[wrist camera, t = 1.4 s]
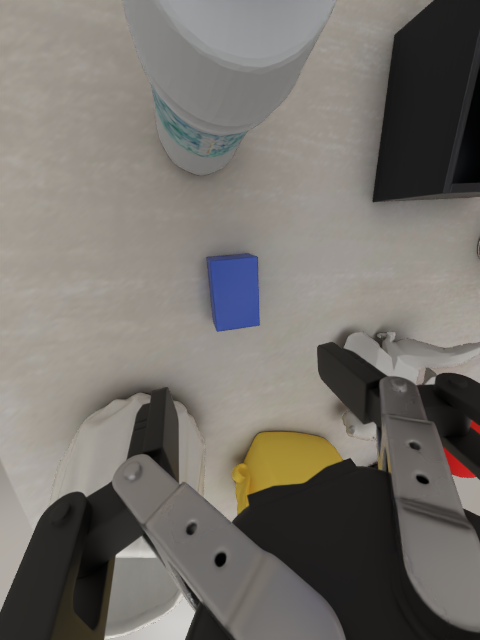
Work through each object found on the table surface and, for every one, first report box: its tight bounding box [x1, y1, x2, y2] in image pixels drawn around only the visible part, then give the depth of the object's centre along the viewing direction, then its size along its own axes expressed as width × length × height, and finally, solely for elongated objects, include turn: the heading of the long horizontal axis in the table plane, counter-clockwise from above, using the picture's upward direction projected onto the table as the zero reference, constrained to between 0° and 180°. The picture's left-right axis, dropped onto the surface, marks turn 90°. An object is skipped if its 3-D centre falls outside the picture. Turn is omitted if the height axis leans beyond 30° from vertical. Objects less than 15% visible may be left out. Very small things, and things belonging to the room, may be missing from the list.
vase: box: [48, 393, 205, 640], centre depth 23 cm, size 14×14×15 cm
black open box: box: [373, 0, 480, 202], centre depth 22 cm, size 13×13×8 cm
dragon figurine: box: [342, 332, 480, 442], centre depth 32 cm, size 15×15×9 cm
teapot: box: [232, 432, 343, 514], centre depth 33 cm, size 20×12×12 cm, turn 70°
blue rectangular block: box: [207, 254, 260, 332], centre depth 25 cm, size 7×4×3 cm, turn 3°
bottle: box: [122, 0, 336, 175], centre depth 12 cm, size 7×7×20 cm
